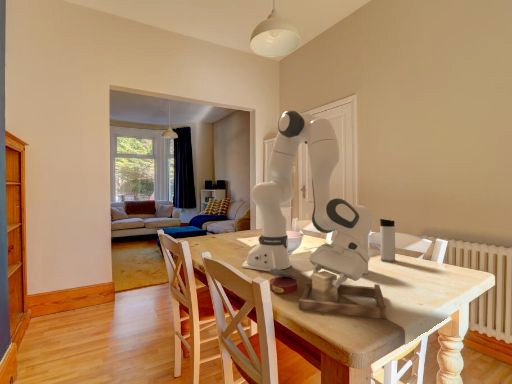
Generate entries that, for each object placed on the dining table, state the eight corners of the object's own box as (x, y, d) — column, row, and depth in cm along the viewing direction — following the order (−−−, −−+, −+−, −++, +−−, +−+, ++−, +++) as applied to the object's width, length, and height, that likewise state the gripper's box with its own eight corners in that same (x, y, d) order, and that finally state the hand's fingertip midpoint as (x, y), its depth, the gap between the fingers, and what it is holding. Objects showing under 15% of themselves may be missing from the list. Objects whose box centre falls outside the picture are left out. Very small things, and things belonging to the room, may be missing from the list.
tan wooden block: (324, 304, 85) (323, 278, 85) (312, 298, 90) (312, 273, 90) (337, 300, 88) (336, 275, 88) (325, 294, 93) (324, 270, 93)
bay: (298, 308, 83) (298, 297, 83) (306, 288, 99) (306, 278, 99) (386, 319, 76) (385, 306, 76) (379, 295, 92) (379, 284, 92)
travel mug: (377, 259, 134) (376, 218, 133) (388, 258, 135) (388, 217, 135) (386, 263, 128) (385, 220, 127) (398, 261, 129) (397, 219, 129)
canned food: (269, 301, 101) (262, 274, 104) (294, 293, 104) (285, 267, 108) (280, 297, 91) (270, 267, 95) (306, 289, 95) (296, 260, 98)
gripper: (318, 237, 101) (297, 268, 97) (364, 247, 83) (341, 286, 79) (327, 247, 103) (307, 278, 99) (374, 260, 86) (353, 298, 81)
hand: (323, 282), depth 89 cm, fingers open, 8 cm apart
